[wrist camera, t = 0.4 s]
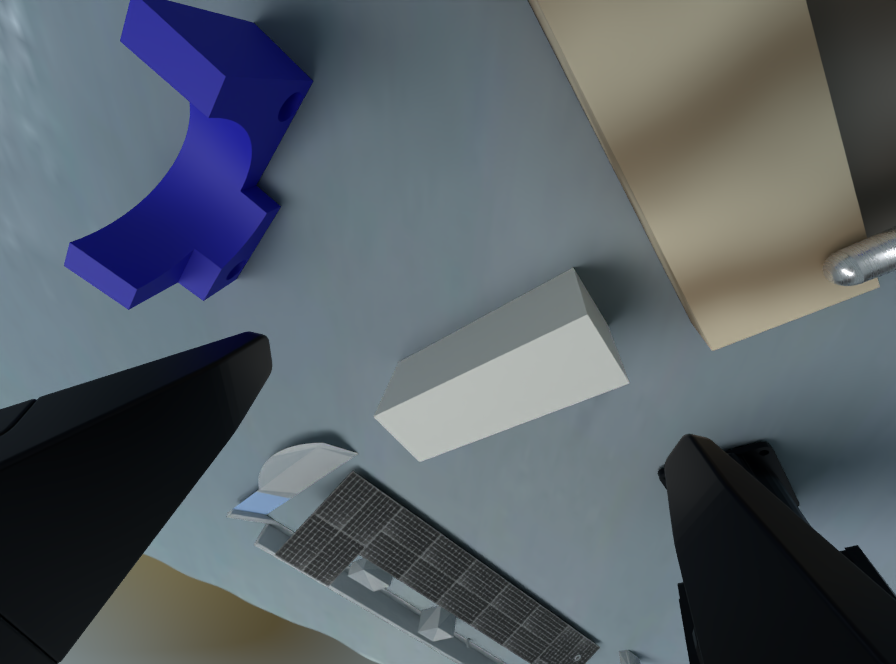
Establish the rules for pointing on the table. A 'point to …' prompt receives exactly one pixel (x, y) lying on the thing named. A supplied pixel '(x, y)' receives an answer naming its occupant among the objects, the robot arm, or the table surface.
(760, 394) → the table surface
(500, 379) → the white rectangular block
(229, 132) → the cable clip
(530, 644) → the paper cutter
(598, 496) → the table surface
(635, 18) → the wooden grooved board
